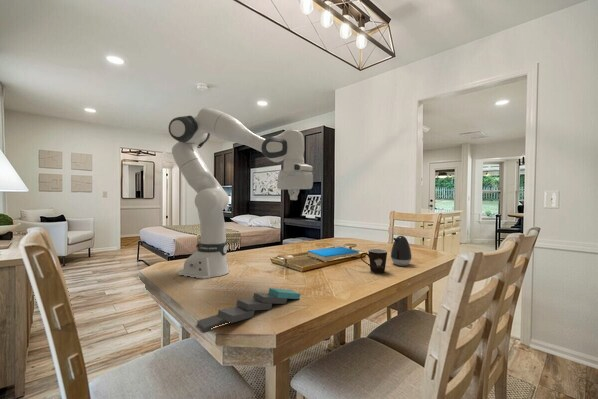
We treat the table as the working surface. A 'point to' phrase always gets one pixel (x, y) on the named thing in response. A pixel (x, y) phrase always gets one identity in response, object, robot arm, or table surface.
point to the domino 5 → (284, 293)
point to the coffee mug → (376, 260)
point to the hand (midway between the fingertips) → (293, 200)
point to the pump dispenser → (401, 251)
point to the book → (332, 253)
